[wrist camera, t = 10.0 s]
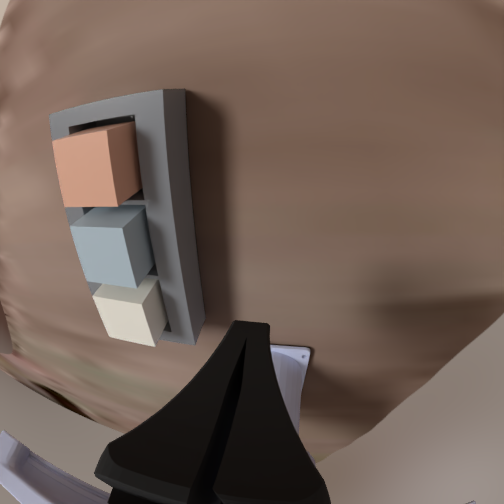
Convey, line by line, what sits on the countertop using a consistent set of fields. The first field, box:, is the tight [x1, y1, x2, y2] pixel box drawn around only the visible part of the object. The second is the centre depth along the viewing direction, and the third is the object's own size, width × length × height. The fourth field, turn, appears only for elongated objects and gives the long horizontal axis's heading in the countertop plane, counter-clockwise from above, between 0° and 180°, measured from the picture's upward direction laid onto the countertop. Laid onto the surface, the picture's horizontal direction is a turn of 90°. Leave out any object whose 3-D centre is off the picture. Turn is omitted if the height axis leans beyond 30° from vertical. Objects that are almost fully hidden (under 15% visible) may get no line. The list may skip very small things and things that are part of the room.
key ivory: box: [93, 278, 169, 347], centre depth 21 cm, size 4×4×4 cm
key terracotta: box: [52, 121, 143, 207], centre depth 15 cm, size 4×4×4 cm
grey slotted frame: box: [49, 89, 206, 345], centre depth 20 cm, size 19×9×3 cm, turn 0°
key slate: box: [70, 205, 156, 289], centre depth 18 cm, size 4×4×4 cm
